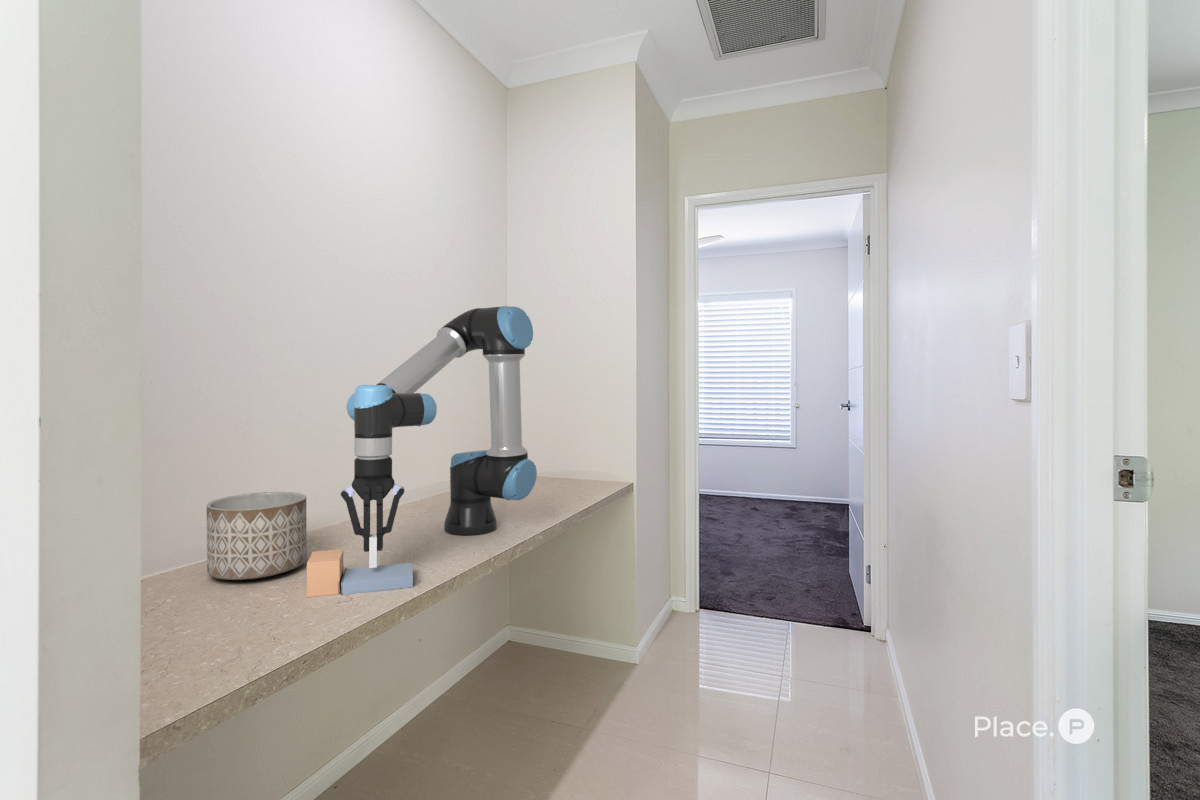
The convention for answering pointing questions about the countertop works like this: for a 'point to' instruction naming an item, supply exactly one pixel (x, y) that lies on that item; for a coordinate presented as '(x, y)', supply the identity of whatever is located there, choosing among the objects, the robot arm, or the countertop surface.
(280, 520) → the planter
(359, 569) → the blue-grey slab
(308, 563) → the block
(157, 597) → the countertop surface
